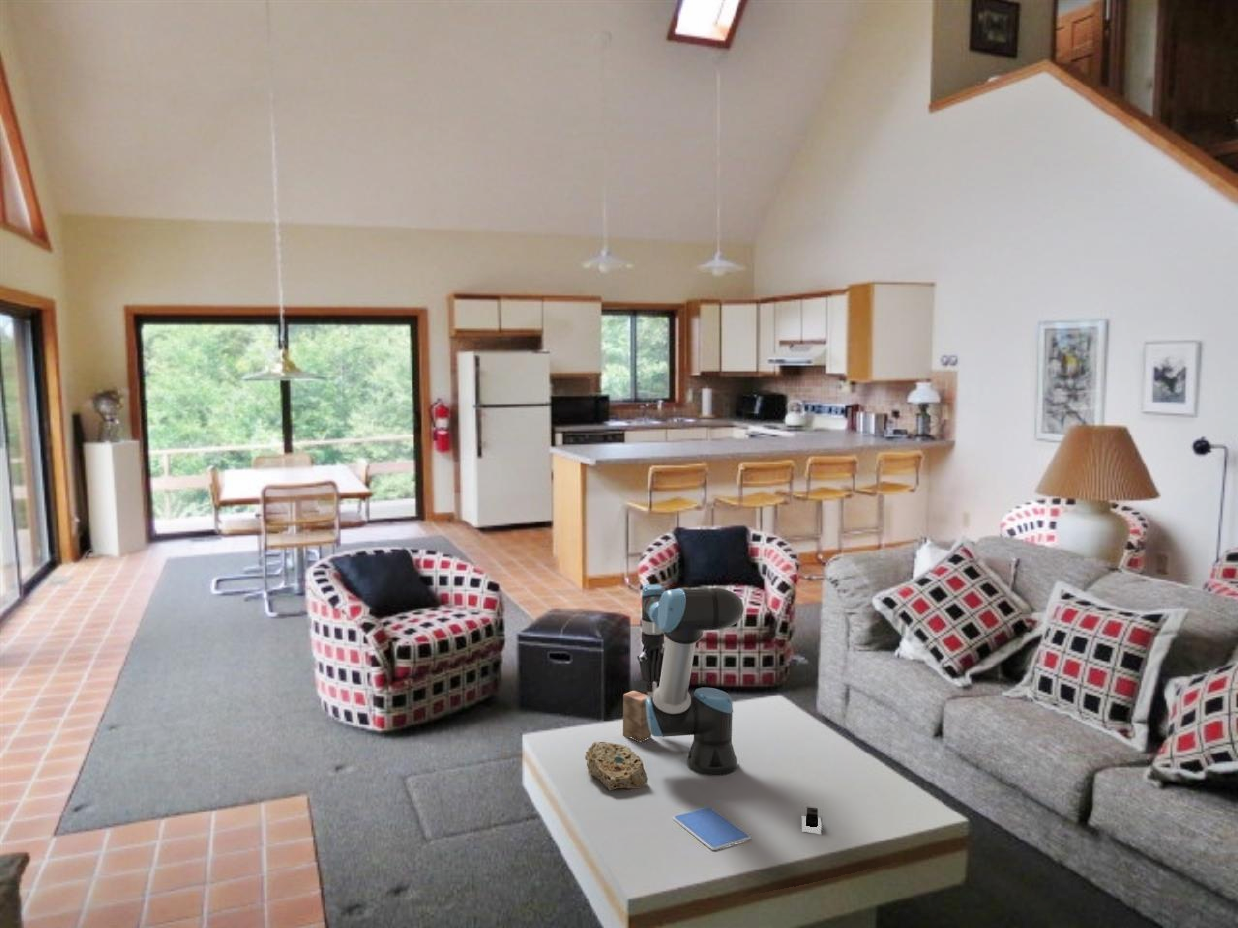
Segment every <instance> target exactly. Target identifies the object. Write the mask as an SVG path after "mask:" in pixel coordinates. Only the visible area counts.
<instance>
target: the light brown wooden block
mask: <svg viewBox="0 0 1238 928" xmlns="http://www.w3.org/2000/svg"><path fill="white" fill-rule="evenodd" d="M622 697H623V699H622V700H623V701H622V736H624V737H626V738H629V737H632V738H634V739H636V740H638V741H637V742H639V741H642V742H644V741H643V740H645V739H647V738H649V739H651V738H652V734H651V733H650V731H649V727H648V721H647V714H646V704H645V700H646V698H648V697H651V696H648V695H647V694H644V693H642V692H639V691H636V690H631V691H629V692H626V693H623V696H622ZM650 737H651V738H650ZM634 739H633V740H634ZM636 740H635V741H636ZM647 740H648V739H647ZM645 741H646V740H645Z"/></svg>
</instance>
